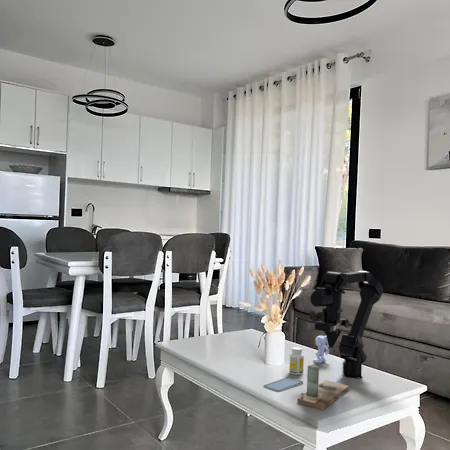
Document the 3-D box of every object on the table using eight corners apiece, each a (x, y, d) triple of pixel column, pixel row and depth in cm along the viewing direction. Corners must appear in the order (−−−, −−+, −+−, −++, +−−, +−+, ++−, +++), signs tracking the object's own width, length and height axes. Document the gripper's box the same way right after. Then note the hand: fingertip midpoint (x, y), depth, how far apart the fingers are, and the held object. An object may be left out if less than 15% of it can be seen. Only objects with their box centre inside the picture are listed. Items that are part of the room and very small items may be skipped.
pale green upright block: (304, 394, 152) (305, 362, 152) (321, 398, 149) (322, 366, 149) (298, 398, 148) (299, 366, 148) (314, 403, 145) (316, 369, 145)
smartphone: (262, 385, 164) (288, 376, 174) (262, 388, 164) (288, 379, 174) (278, 391, 158) (304, 381, 169) (277, 394, 158) (304, 384, 169)
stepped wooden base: (325, 384, 169) (325, 377, 169) (348, 389, 164) (349, 383, 164) (297, 402, 149) (297, 395, 149) (323, 409, 144) (323, 402, 144)
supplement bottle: (301, 371, 183) (302, 346, 183) (304, 375, 178) (305, 350, 178) (288, 370, 183) (289, 346, 183) (290, 375, 178) (291, 349, 178)
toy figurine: (320, 359, 202) (321, 331, 202) (331, 363, 196) (332, 335, 196) (309, 361, 198) (310, 333, 198) (319, 365, 193) (320, 336, 193)
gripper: (324, 301, 184) (321, 340, 183) (302, 304, 169) (299, 347, 168) (350, 305, 177) (348, 345, 177) (330, 308, 162) (327, 353, 162)
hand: (330, 347), depth 171 cm, fingers closed
